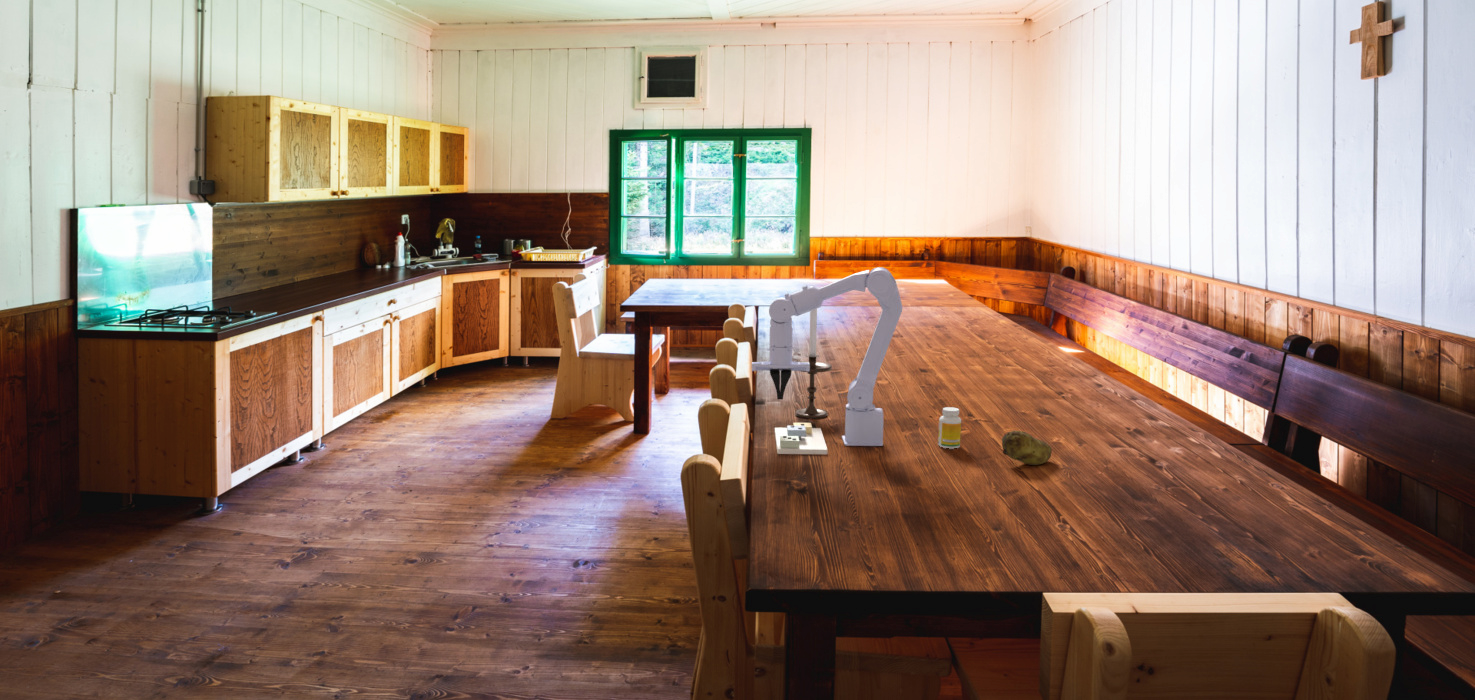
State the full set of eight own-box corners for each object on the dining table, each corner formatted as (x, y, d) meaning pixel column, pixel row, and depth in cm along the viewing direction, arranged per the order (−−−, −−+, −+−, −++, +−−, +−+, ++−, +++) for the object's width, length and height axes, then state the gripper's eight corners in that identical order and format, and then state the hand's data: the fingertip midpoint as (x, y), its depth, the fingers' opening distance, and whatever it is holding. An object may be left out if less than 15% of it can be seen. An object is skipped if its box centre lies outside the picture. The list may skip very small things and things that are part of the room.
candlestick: (832, 419, 247) (835, 294, 241) (793, 419, 247) (795, 293, 241) (828, 410, 258) (831, 290, 252) (791, 410, 258) (793, 289, 252)
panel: (820, 432, 234) (820, 424, 233) (827, 454, 214) (827, 445, 213) (774, 432, 234) (774, 423, 233) (777, 453, 214) (777, 444, 214)
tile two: (804, 432, 225) (804, 424, 225) (805, 436, 221) (805, 429, 220) (786, 431, 225) (786, 424, 225) (787, 436, 221) (787, 429, 220)
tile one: (810, 429, 232) (810, 422, 231) (811, 433, 227) (811, 426, 227) (793, 428, 232) (793, 421, 231) (794, 433, 227) (794, 426, 227)
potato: (1061, 468, 204) (1063, 434, 203) (1007, 469, 203) (1009, 435, 202) (1045, 458, 212) (1048, 425, 211) (993, 459, 211) (995, 426, 210)
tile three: (798, 442, 219) (798, 435, 218) (799, 447, 214) (799, 440, 214) (779, 442, 219) (779, 435, 219) (780, 447, 214) (780, 439, 214)
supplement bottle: (933, 444, 223) (935, 407, 221) (952, 442, 225) (953, 405, 223) (945, 450, 218) (947, 412, 216) (964, 448, 220) (966, 410, 218)
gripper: (808, 343, 227) (807, 395, 230) (751, 343, 228) (751, 394, 230) (810, 348, 221) (809, 401, 223) (752, 347, 221) (751, 401, 223)
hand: (780, 398), depth 226 cm, fingers closed
